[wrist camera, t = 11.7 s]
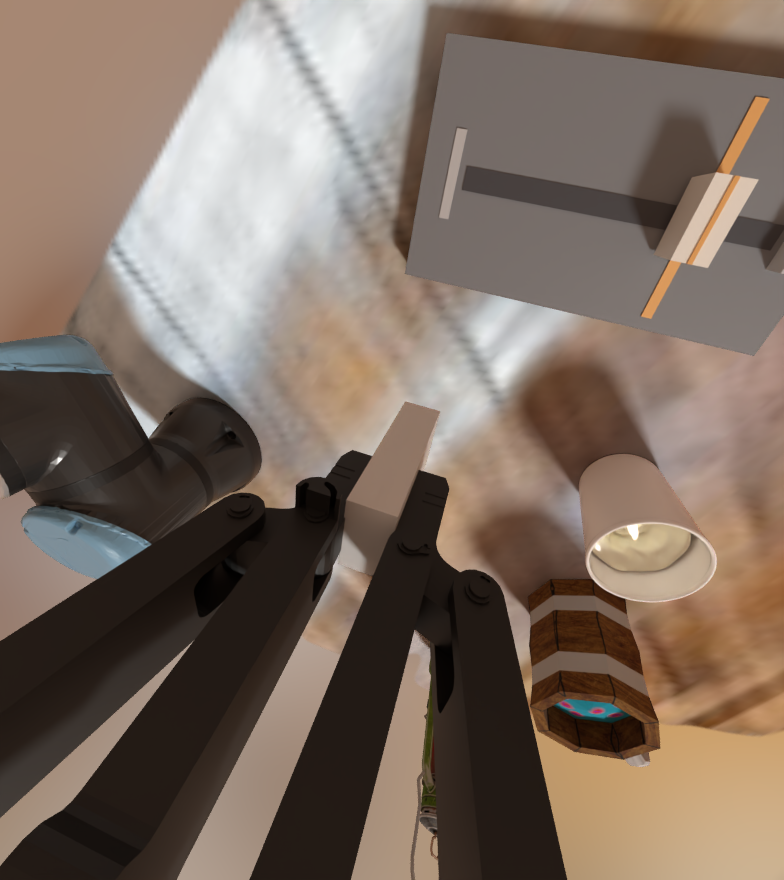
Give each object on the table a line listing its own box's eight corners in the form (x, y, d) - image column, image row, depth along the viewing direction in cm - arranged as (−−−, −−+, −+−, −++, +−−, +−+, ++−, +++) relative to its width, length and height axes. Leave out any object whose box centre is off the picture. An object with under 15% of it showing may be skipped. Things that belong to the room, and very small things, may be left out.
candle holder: (606, 432, 41) (634, 503, 31) (692, 471, 40) (749, 556, 30) (554, 494, 46) (563, 571, 36) (629, 529, 46) (660, 617, 36)
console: (412, 269, 38) (399, 276, 34) (452, 47, 29) (441, 21, 25) (736, 345, 34) (767, 363, 30) (898, 110, 25) (974, 90, 21)
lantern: (508, 673, 67) (501, 945, 42) (455, 677, 72) (421, 922, 47) (467, 621, 63) (434, 889, 38) (415, 630, 68) (355, 870, 43)
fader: (653, 254, 29) (670, 260, 26) (692, 177, 27) (717, 172, 23) (686, 261, 29) (708, 268, 26) (729, 183, 26) (759, 179, 23)
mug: (508, 591, 57) (505, 698, 44) (599, 565, 50) (625, 682, 37) (578, 670, 61) (593, 786, 49) (670, 656, 54) (715, 788, 42)
